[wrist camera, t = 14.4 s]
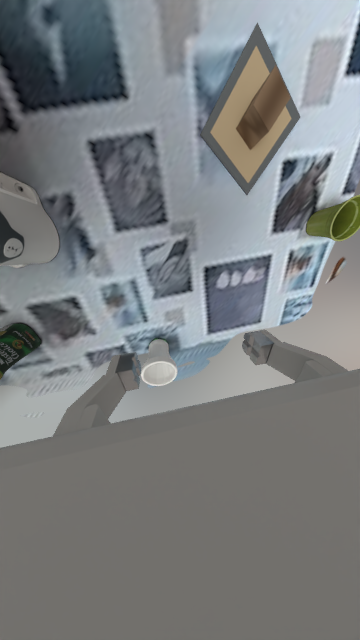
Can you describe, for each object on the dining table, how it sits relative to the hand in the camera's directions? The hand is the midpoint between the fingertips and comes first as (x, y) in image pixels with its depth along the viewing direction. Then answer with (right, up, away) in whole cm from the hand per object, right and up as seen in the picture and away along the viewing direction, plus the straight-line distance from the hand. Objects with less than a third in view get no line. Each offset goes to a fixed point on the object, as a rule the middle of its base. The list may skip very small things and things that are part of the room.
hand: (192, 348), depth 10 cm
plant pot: (+40, +31, +31) cm, 60 cm away
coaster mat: (+14, +44, +19) cm, 50 cm away
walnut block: (+14, +44, +19) cm, 50 cm away
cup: (-10, -8, +44) cm, 46 cm away
